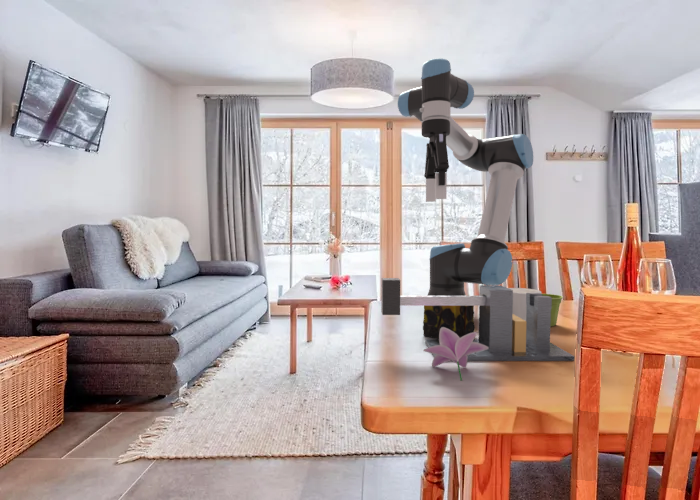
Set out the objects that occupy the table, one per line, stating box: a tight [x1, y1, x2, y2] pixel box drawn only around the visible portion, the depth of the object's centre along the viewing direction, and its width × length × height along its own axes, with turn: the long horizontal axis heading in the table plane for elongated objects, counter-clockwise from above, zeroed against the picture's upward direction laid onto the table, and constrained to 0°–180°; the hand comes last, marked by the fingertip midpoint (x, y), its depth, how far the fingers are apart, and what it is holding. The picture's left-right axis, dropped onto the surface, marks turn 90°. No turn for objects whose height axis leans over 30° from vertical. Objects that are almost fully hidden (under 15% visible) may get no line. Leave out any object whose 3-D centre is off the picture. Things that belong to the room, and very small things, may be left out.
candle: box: [422, 295, 476, 339], centre depth 113 cm, size 10×10×10 cm
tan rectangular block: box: [512, 314, 526, 352], centre depth 99 cm, size 8×2×7 cm, turn 179°
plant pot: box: [542, 293, 564, 327], centre depth 127 cm, size 9×9×9 cm
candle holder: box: [507, 287, 543, 321], centre depth 115 cm, size 10×10×12 cm
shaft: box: [380, 277, 487, 316], centre depth 98 cm, size 4×26×8 cm, turn 90°
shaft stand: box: [424, 284, 575, 362], centre depth 99 cm, size 14×30×15 cm, turn 90°
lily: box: [423, 327, 489, 381], centre depth 84 cm, size 12×12×10 cm
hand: (435, 200), depth 115 cm, fingers open, 13 cm apart
